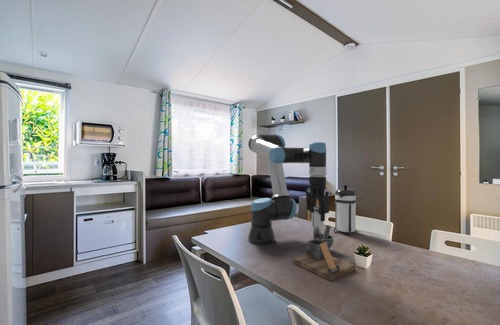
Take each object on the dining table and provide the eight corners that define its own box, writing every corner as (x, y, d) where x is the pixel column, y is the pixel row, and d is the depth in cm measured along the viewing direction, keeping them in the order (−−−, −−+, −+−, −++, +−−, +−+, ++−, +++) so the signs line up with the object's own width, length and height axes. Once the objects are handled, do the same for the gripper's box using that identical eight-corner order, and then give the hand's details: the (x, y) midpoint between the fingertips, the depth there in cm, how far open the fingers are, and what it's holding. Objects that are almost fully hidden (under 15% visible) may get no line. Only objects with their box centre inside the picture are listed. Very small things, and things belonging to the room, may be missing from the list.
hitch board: (293, 262, 107) (293, 244, 107) (316, 254, 117) (316, 238, 117) (331, 281, 91) (331, 260, 91) (355, 270, 100) (355, 251, 100)
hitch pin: (316, 235, 113) (316, 205, 113) (323, 237, 110) (323, 206, 110) (311, 236, 111) (311, 206, 111) (318, 238, 108) (318, 207, 108)
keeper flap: (318, 244, 98) (320, 243, 97) (324, 242, 100) (326, 241, 99) (329, 273, 93) (332, 272, 93) (336, 270, 96) (338, 270, 95)
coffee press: (364, 235, 145) (364, 186, 145) (337, 235, 145) (337, 186, 145) (352, 227, 163) (352, 183, 162) (328, 227, 163) (328, 183, 162)
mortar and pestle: (326, 255, 116) (326, 230, 116) (309, 249, 123) (309, 226, 122) (337, 249, 123) (338, 226, 123) (321, 244, 130) (321, 222, 130)
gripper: (298, 175, 115) (298, 224, 115) (327, 177, 101) (327, 232, 102) (309, 174, 119) (309, 222, 119) (338, 176, 106) (338, 229, 106)
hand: (317, 226), depth 110 cm, fingers closed on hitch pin, 3 cm apart
